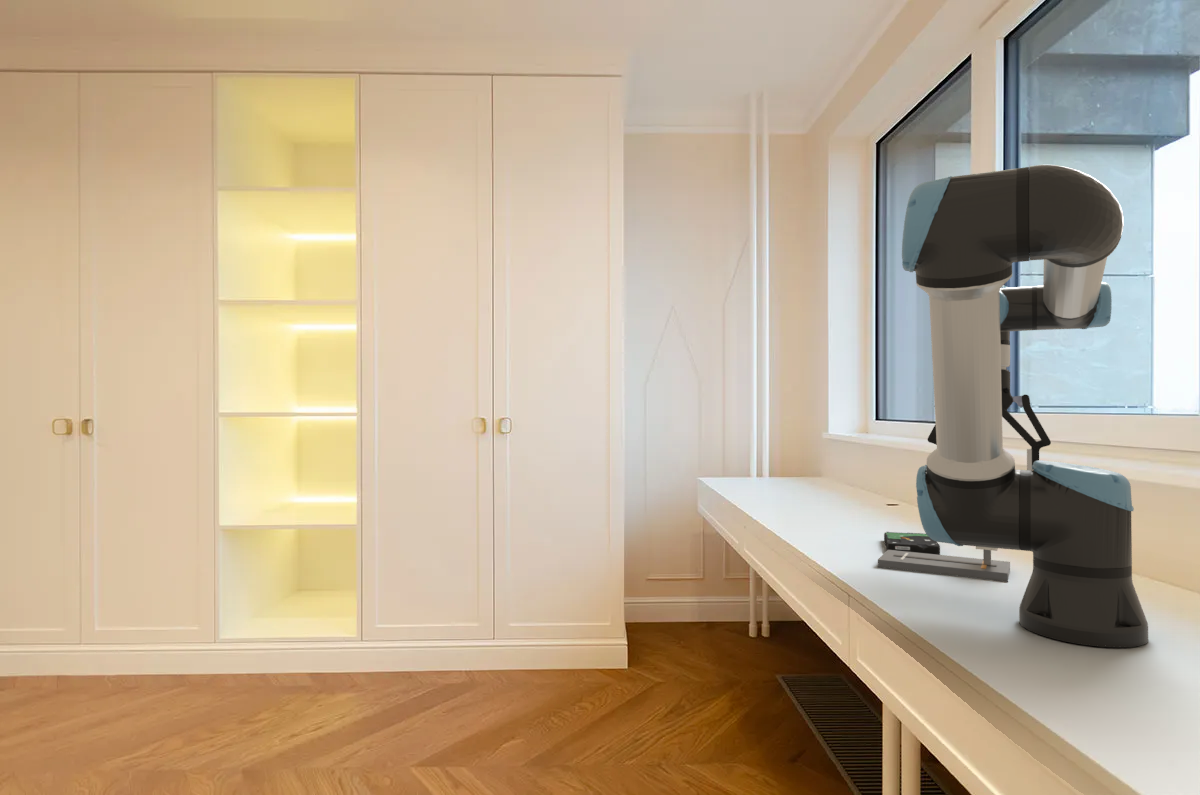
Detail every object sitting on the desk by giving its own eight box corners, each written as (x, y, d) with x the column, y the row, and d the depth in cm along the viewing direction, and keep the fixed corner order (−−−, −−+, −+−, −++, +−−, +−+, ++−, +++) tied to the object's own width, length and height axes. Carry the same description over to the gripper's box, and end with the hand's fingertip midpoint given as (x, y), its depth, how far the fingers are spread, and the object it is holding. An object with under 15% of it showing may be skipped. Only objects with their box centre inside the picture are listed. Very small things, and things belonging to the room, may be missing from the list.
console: (1007, 581, 131) (1007, 572, 131) (877, 567, 142) (877, 559, 142) (1010, 569, 141) (1010, 561, 141) (888, 556, 152) (888, 549, 152)
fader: (997, 567, 135) (997, 512, 135) (975, 565, 136) (975, 511, 136) (998, 562, 139) (998, 509, 139) (977, 560, 141) (977, 507, 141)
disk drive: (941, 559, 153) (931, 545, 167) (941, 546, 153) (931, 532, 167) (887, 556, 156) (882, 542, 170) (887, 543, 156) (882, 530, 170)
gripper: (1065, 368, 135) (1065, 485, 134) (918, 371, 147) (918, 477, 147) (1066, 366, 128) (1066, 488, 128) (912, 369, 141) (912, 480, 141)
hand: (987, 482), depth 137 cm, fingers open, 13 cm apart
